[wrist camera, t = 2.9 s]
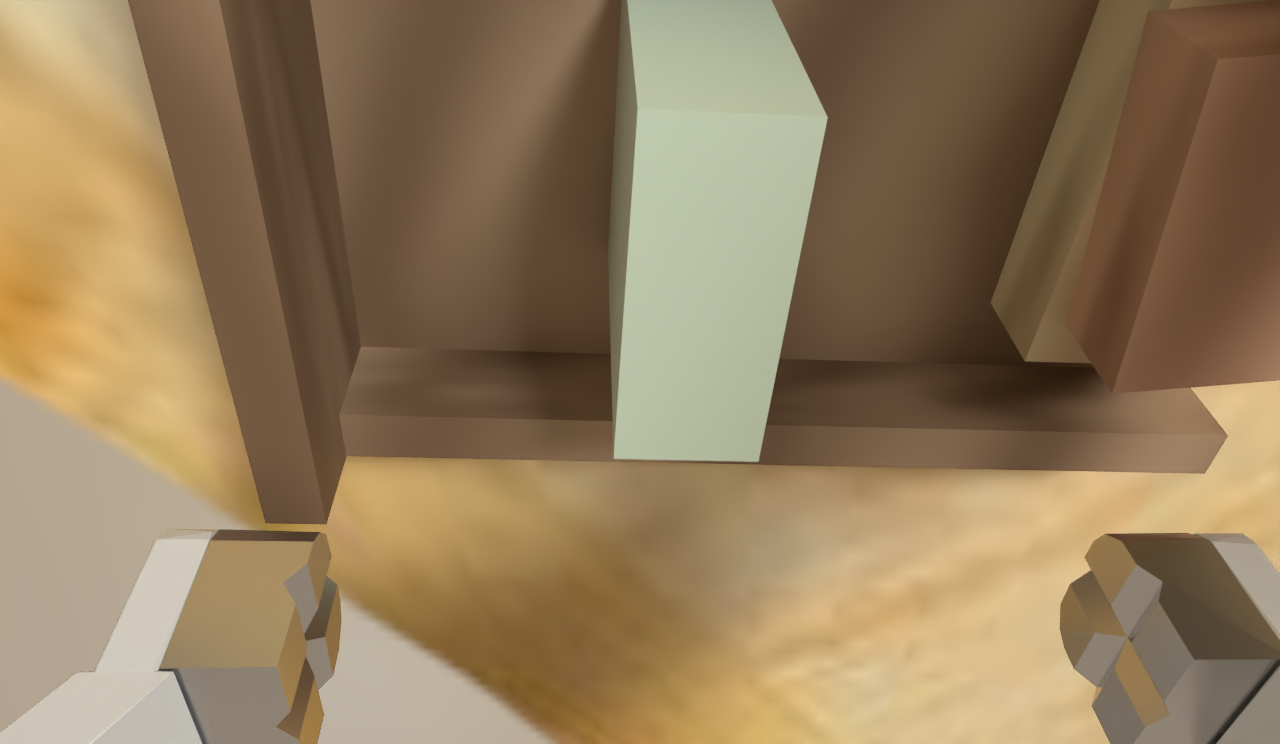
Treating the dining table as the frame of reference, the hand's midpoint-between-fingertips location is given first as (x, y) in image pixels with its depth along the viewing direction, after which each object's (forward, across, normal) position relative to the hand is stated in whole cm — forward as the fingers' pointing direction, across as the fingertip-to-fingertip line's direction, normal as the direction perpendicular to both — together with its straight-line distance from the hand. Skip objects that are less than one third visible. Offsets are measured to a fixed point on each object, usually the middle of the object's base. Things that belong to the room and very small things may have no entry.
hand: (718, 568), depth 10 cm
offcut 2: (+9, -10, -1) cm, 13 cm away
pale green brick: (+11, 0, 0) cm, 11 cm away
